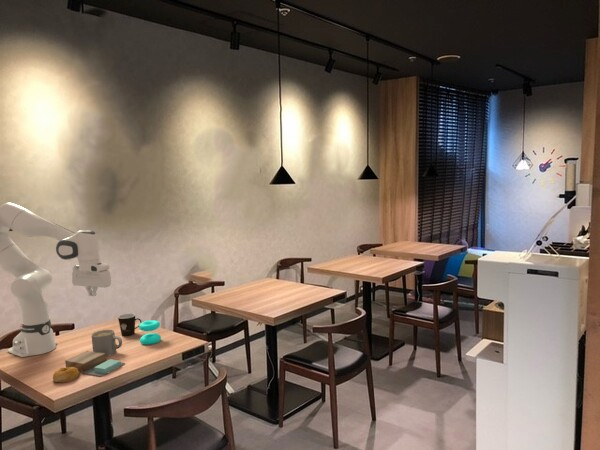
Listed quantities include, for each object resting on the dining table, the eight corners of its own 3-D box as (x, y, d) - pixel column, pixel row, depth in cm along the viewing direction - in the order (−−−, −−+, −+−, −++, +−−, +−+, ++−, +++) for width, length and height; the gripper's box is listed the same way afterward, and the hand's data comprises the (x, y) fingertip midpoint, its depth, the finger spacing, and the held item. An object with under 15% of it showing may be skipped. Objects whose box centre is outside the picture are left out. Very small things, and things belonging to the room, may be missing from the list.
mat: (82, 373, 201) (82, 372, 201) (107, 361, 214) (107, 360, 214) (100, 376, 197) (100, 375, 197) (125, 363, 210) (125, 363, 210)
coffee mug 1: (88, 357, 220) (86, 336, 219) (102, 349, 229) (100, 329, 228) (114, 358, 217) (112, 337, 216) (126, 350, 226) (125, 330, 225)
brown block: (66, 369, 206) (65, 360, 206) (88, 359, 217) (87, 350, 217) (84, 372, 202) (83, 363, 202) (106, 362, 213) (105, 353, 213)
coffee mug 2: (116, 335, 248) (114, 317, 247) (130, 330, 255) (128, 312, 254) (129, 339, 242) (127, 320, 241) (143, 334, 249) (142, 315, 247)
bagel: (83, 371, 203) (82, 361, 203) (73, 383, 192) (72, 372, 192) (60, 373, 203) (58, 363, 202) (48, 385, 192) (46, 374, 191)
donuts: (154, 325, 230) (135, 325, 231) (156, 345, 231) (136, 345, 232) (162, 319, 240) (143, 319, 241) (164, 338, 241) (145, 338, 242)
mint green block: (104, 369, 199) (105, 373, 199) (120, 360, 207) (121, 365, 208) (94, 367, 201) (94, 371, 202) (110, 359, 210) (110, 363, 210)
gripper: (67, 266, 215) (70, 296, 217) (101, 268, 207) (103, 299, 209) (78, 263, 221) (81, 292, 223) (112, 265, 213) (114, 295, 214)
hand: (92, 295), depth 216 cm, fingers closed
